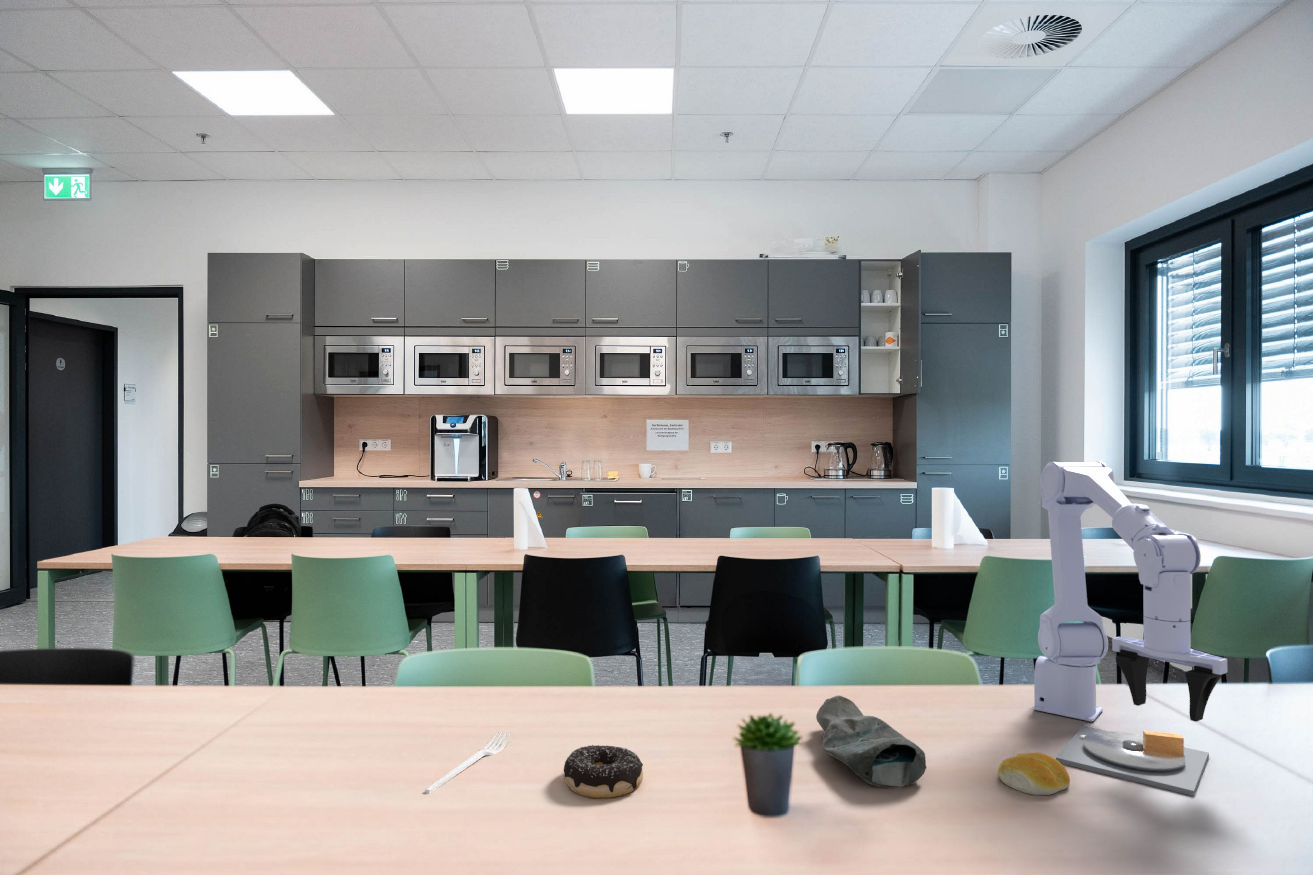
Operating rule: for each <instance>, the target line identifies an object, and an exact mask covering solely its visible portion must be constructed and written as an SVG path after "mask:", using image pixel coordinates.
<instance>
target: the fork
mask: <svg viewBox="0 0 1313 875" xmlns="http://www.w3.org/2000/svg"><path fill="white" fill-rule="evenodd" d="M499 732H500V733H499ZM498 734H499V735H498ZM502 734H503V735H502ZM510 736H511V732H509V733H508V734H507V731H505V732H504V733H503V731H502V730H501V731H499V730H498V731H496V733H495V734H494V735H493V737H492V738H491V739H490V740H489V741H488V742H487V744H486V745H485V746H484V747H483V748H482V749H478V750H477V752H475V753H474V754H472V755H471V756H469V757H468V758H467V759H465V761H463V762H461V763H460V764H458V765H457V766H456V767H454V768H453V769H452V770H450V771H449V772H448V773H446V774H444V776H442V777H441V778H439V779H438V780H437V781H435V782H434V783H433V784H431V785H429V786H428V787H427V788H425V791H424V794H427V795H430V794H432V793H433V792H434V791H435V790H437V789H438V788H440V787H441V786H443V785H444V784H446V783H447V782H449V781H450V780H451V779H453V778H454V777H456V776H457V775H459V774H460V773H461V772H462V771H464V770H465V769H467V768H469V767H470V766H471V765H473V764H474V763H475V762H477V761H478V760H480V759H481V758H483V757H484V756H494V755H496V754H498V753H499V752H502V750H503V749H505V747H506V745H507V743H508V741H509V739H510ZM505 737H506V738H505Z"/></svg>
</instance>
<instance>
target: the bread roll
mask: <svg viewBox="0 0 1313 875" xmlns="http://www.w3.org/2000/svg"><path fill="white" fill-rule="evenodd" d="M997 775H998V778H999V779H1000V781H1001V782H1002V783H1003V784H1004V785H1006V786H1007V787H1010V788H1011V789H1013V790H1016V791H1018V792H1022V793H1025V794H1029V795H1035V796H1050V795H1053V794H1055V793H1057V792H1059V791H1060V792H1061V791H1064V790H1066V789H1067V788H1068V787H1069V786H1070V784H1071V779H1070V775H1069V773H1068V771H1067V769H1066V767H1065V766H1064V764H1061V763H1060V762H1059V761H1058V760H1056V757H1055V758H1054V757H1053V756H1051V755H1048V754H1046V753H1042V752H1026V753H1019V754H1017V755H1014V756H1011V757H1008V758H1005V759H1004V760H1002V761H1001V762H1000V764H999V766H998V770H997Z"/></svg>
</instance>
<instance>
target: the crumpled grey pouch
mask: <svg viewBox="0 0 1313 875" xmlns="http://www.w3.org/2000/svg"><path fill="white" fill-rule="evenodd" d="M815 718H816V721H817V723H818V725H819V726H820V727H821V729H822V731H823V732H824V733H823V737H822V749H823V751H824V752H825V753H827V754H828V755H830V756H831V757H833V758H835V759H836V760H838V761H840V762H842V763H843V764H845V765H847V767H849V769H850V770H852V772H853V773H855V774H856V776H858V777H859V778H861V779H862V780H863V781H864V782H866V783H868V784H870V785H872V786H875V787H877V788H880V789H889V788H893V789H894V788H897V789H898V788H899V787H903V788H905V787H907V786H909V785H913V784H915V783H916V782H917V781H919V779H921V778H922V777H923V775H925V771H926V770H927V763H926V762H927V761H926V753H925V751H924V750H923V749H921V747H920V746H918V744H916V743H914V742H913V741H911V740H910V739H908V738H906V737H905V736H904V735H903V734H902V733H900V732H898V731H897V730H896V729H895V728H893V727H892V726H891V725H889V724H888V723H887V722H885V721H884V720H882V719H881V718H878V717H877V716H874V715H864V714H863V713H862V710H860V708H859V707H858V706H857V704H855V702H854V701H852V700H851V699H849V698H847V697H844V696H843V695H835V696H831V697H830V698H827V699H825V701H823V704H821V706H820V707H819V708H818V710H817V713H816V717H815Z"/></svg>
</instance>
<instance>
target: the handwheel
mask: <svg viewBox="0 0 1313 875" xmlns="http://www.w3.org/2000/svg"><path fill="white" fill-rule="evenodd" d="M1184 742H1185V740H1184V737H1183V736H1182V734H1178V733H1170V732H1162V731H1153V730H1152V731H1151V730H1145V729H1143V730H1142V734H1137V733H1131V732H1125V731H1123V732H1122V731H1121V732H1120V731H1109V730H1106V731H1105V732H1095V733H1090V734H1088V735H1086V736H1085V737H1084V739H1083V746H1084V748H1085V749H1086V750H1087V751H1088V752H1089V753H1090V754H1092V755H1093V756H1095V757H1097V758H1099V759H1102V760H1104V761H1107V762H1110V763H1113V764H1116V765H1120V766H1123V767H1128V768H1133V769H1139V770H1147V771H1173V770H1177V769H1180V768H1182V767H1183V766H1184V765H1185V755H1184V746H1185V743H1184Z"/></svg>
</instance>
